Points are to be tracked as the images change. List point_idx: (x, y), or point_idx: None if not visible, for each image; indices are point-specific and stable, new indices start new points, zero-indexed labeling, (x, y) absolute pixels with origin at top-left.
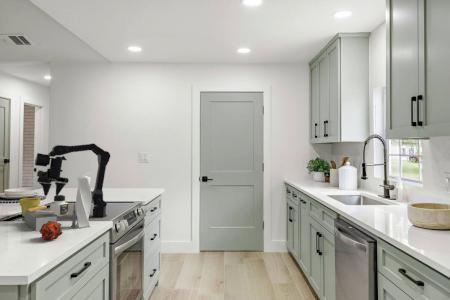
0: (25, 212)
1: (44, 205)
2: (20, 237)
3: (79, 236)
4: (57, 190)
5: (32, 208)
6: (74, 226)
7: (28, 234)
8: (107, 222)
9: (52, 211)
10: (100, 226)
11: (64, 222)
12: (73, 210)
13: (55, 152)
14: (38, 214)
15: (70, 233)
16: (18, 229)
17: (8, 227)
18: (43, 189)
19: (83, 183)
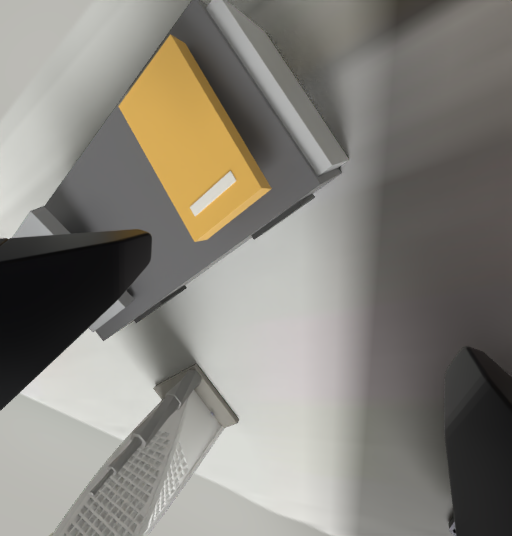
0: (189, 18)
1: (243, 196)
2: (5, 207)
3: (70, 396)
4: (488, 456)
5: (172, 92)
6: (178, 380)
7: None
8: (296, 513)
9: (117, 312)
10: (210, 472)
11: (294, 318)
12: (134, 437)
13: None
14: (91, 220)
15: (93, 369)
16: (97, 113)
17: (124, 2)
18: (2, 247)
19: None
